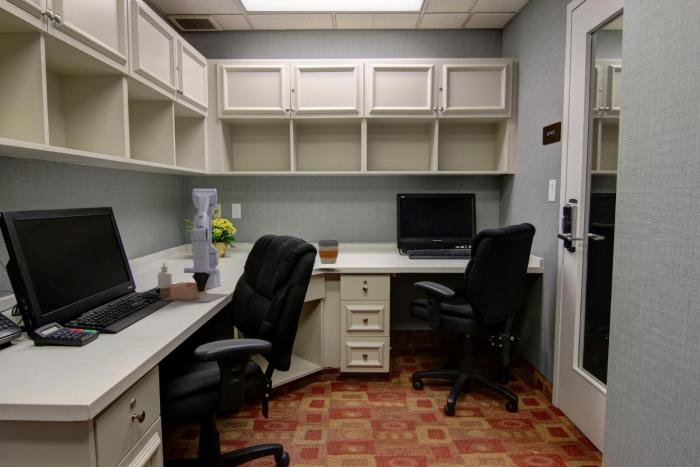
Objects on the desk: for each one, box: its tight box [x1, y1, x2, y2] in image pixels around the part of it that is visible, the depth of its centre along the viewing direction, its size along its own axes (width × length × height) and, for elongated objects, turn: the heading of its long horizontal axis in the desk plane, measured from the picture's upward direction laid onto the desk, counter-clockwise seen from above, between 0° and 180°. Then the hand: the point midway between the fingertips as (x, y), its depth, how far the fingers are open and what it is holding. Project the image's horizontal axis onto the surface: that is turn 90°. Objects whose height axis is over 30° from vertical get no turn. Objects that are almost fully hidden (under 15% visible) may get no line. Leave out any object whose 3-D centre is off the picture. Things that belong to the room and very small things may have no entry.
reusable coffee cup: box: [317, 239, 339, 264], centre depth 248 cm, size 12×12×15 cm
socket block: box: [170, 281, 208, 300], centre depth 163 cm, size 10×9×4 cm
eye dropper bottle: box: [157, 262, 173, 290], centre depth 174 cm, size 4×6×12 cm
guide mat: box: [163, 292, 229, 304], centre depth 163 cm, size 14×24×1 cm, turn 76°
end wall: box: [159, 281, 184, 300], centre depth 165 cm, size 13×2×4 cm, turn 166°
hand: (201, 291), depth 161 cm, fingers closed
